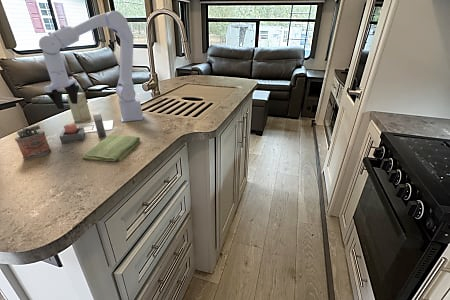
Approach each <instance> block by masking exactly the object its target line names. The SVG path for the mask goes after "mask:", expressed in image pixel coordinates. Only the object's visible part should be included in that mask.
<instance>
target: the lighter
mask: <svg viewBox="0 0 450 300" xmlns="http://www.w3.org/2000/svg"><path fill="white" fill-rule="evenodd" d="M40 129H41V126H40V125H39V124H35V125H32V126H30V127H25V126H24V127H22V129H20V130H16V134H17V135H18V136H17V137H15V138H14V140H15V142H16V144H17V145H18V148H19V150H20V152H21V155H22V160H23V161H24V162H25V161H26V162H27V161H31V160H34V159H37V158H40V157H43V156H46V155H49V154H51V153H52V148H51V147H50V145H49V143H48V140H47V137H46V135H45V134H46V132H45V130H40Z"/></svg>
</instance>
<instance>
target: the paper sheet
mask: <svg viewBox="0 0 450 300" xmlns="http://www.w3.org/2000/svg"><path fill="white" fill-rule="evenodd" d="M102 121H103V125H104V129H105V132H106V131H112V130H113V129H114V119H111V120H102ZM76 126H77V128H83V127H84V131H85V134H89V133H90V134H91V133H97V129H96V125H95V121H93V122H85V123H76Z"/></svg>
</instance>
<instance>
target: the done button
mask: <svg viewBox="0 0 450 300" xmlns="http://www.w3.org/2000/svg"><path fill="white" fill-rule="evenodd" d="M76 124H77V123H76ZM76 124H75V123H70V124H69V123H68V124H65V125H63V128H64V129H63V130H65V132H66V133H67V134H72V133H76V132H77V131H78V129H77V126H76Z"/></svg>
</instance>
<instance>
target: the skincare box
mask: <svg viewBox="0 0 450 300" xmlns="http://www.w3.org/2000/svg"><path fill="white" fill-rule="evenodd" d="M66 98H67V101H68V106H69V107H70V111H71V114H72V118H73V121H74V122H81V123H82V122H85V121H86V120H90V119H92V117H91V116H92V115H91V112H90V108H89V104H88V101H87V97H86V94H85V92H79V91H78V96H77V104H72V103H71V101H70V98H69V95H68V94H66Z"/></svg>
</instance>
